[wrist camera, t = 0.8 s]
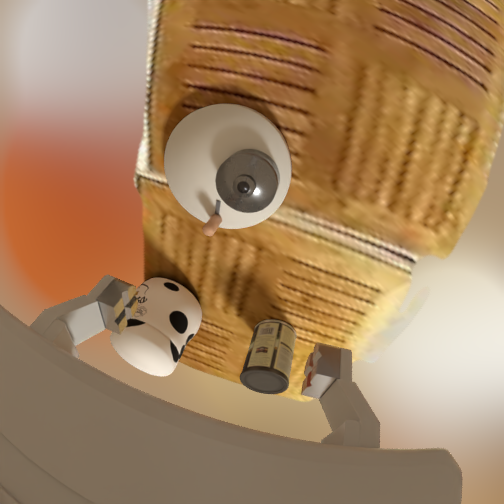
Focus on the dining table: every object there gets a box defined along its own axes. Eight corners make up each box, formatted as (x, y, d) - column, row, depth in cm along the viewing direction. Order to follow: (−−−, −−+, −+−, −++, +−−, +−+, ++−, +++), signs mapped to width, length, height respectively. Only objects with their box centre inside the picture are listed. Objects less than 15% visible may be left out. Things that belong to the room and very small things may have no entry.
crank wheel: (175, 96, 39) (155, 99, 35) (306, 119, 38) (303, 125, 33) (167, 207, 52) (151, 222, 47) (276, 236, 50) (270, 255, 45)
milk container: (137, 263, 64) (95, 316, 49) (205, 280, 61) (171, 344, 47) (148, 313, 74) (117, 363, 59) (207, 330, 71) (182, 387, 57)
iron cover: (227, 143, 41) (216, 150, 37) (285, 156, 40) (281, 165, 36) (219, 195, 46) (209, 207, 42) (273, 209, 45) (268, 223, 41)
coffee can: (273, 350, 70) (262, 397, 59) (245, 328, 67) (229, 376, 56) (305, 337, 65) (298, 388, 53) (277, 312, 62) (265, 365, 51)
